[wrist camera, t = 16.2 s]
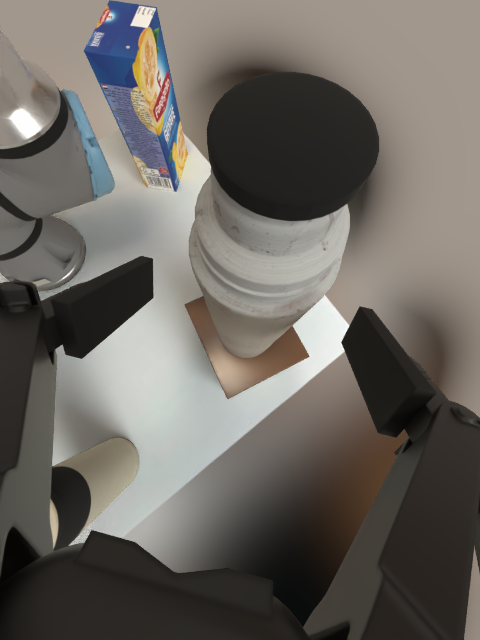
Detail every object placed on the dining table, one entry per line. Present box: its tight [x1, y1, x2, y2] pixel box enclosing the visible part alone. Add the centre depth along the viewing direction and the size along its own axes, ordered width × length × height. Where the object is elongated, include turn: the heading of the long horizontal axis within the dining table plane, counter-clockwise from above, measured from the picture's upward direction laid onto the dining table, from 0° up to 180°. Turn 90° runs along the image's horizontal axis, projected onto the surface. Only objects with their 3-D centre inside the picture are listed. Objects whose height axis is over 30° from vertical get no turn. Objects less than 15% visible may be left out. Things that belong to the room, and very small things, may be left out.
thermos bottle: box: [189, 72, 379, 358], centre depth 20 cm, size 8×8×28 cm
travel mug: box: [50, 438, 139, 551], centre depth 29 cm, size 8×8×18 cm
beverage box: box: [84, 1, 187, 192], centre depth 42 cm, size 7×11×22 cm, turn 170°
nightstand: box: [185, 296, 309, 399], centre depth 38 cm, size 15×13×10 cm
